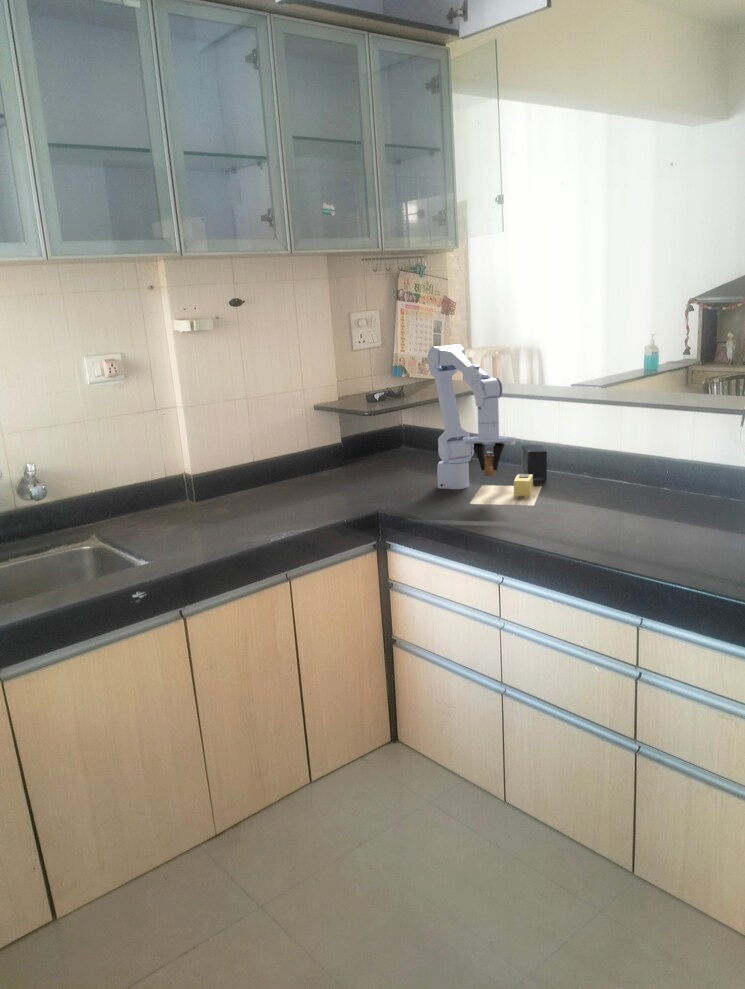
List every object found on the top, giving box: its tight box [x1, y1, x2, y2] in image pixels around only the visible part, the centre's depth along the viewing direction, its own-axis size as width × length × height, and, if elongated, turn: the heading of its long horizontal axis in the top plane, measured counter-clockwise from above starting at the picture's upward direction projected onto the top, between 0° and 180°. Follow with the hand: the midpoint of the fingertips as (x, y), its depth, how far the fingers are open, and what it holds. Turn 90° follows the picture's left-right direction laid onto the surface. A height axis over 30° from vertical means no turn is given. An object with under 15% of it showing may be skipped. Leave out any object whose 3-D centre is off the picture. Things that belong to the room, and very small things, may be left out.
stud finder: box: [513, 473, 534, 496], centre depth 220 cm, size 4×8×5 cm, turn 162°
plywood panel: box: [469, 484, 543, 507], centre depth 220 cm, size 18×21×1 cm
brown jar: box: [483, 451, 496, 477], centre depth 213 cm, size 3×3×6 cm
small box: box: [521, 444, 548, 482], centre depth 237 cm, size 11×6×10 cm, turn 179°
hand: (489, 469), depth 213 cm, fingers closed on brown jar, 3 cm apart
